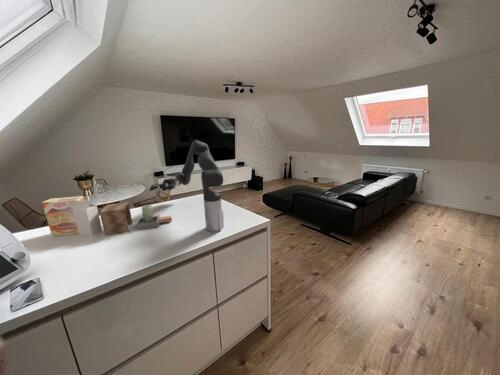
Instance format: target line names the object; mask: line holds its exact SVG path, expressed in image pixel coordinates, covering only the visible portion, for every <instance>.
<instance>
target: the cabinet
mask: <svg viewBox="0 0 500 375" xmlns="http://www.w3.org/2000/svg"><path fill="white" fill-rule="evenodd" d="M99 218H100V222H101V226H102V231H103V234H104V236H105V237H107V236H113V235H121V234H126V233H129V232H130V230H129V225H133V219H132V213H131V208H130V203H129V201H127V202H118V203H110V204H106V205H105V206H104V207H103V208H102V209H101V210H100V211H99Z"/></svg>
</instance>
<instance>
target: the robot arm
mask: <svg viewBox="0 0 500 375" xmlns="http://www.w3.org/2000/svg"><path fill="white" fill-rule="evenodd" d="M194 154H195V155H198V156H197V163H198V166H199V167H200V169H201V170H202V171H201V172H200V173H201V177H200V179H201V185H202V193H203V196H202V197H203V206H204V208H203V209H204V218H205V230H206V231H207V232H212V233H215V232H222V229H223V228H224V226H225V224H224V223H225V222H224V210H223V208H222V195H221V193H220V192H217V191H214V190H211V189H210V188H216V187H221V186H222V185H223V184H224V176H223V173H222V170H221V169H220V168H219V167H218V166H217V164H216V162H215V159H214V157H213V156H212V154H211V152H210V147H209V145H208V144H207V143H205V142H203V141H200V140H198V139H194V140H193V141H192V143H191V144H190V148H189V151H188V154H187V156H186V157H187V158H186V161H185V164H184V165H183V168H182V169H181V172H178V173H177V174H176V175H175V176H173V177H170V178H166V179H164V180H163V182H161V183H157V182H156V183H154V184H152V185H151V184H150V187H149V191H150V192H152V191H155V190H161V191H162V192H165V191H171V190H174V189H175V188H177V187H179V186H181V185H183V186H187V185H189V183H190V182H191V177H192V173H193V171H194V170H195V162H194Z"/></svg>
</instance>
